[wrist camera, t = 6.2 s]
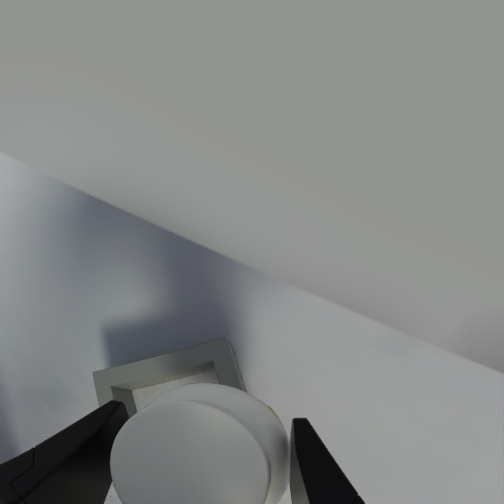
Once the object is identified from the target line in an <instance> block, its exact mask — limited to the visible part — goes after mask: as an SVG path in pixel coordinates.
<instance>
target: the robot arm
mask: <svg viewBox="0 0 504 504" xmlns="http://www.w3.org/2000/svg"><path fill="white" fill-rule="evenodd" d="M129 419H130V418H129V415H128V412H127V409H126V406H125V404H124V403H123V402H122V401H117V400H110V401H109V402H107V403H106V404H104V405H102V406H101V407H99V408H98V409H96V410H94V411H93V412H91V413H90V414H88V415H86V416H85V417H83V418H82V419H80V420H78V421H77V422H75V423H74V424H72V425H70V426H69V427H67V428H65V429H64V430H62V431H60V432H59V433H57V434H55V435H54V436H52V437H50V438H49V439H47V440H45V441H44V442H42V443H40V444H39V445H37V446H35V448H32V449H30V450H28V451H27V452H25V453H23V454H21V455H19V456H17V457H15V458H13V459H11V460H9V461H7V462H5V463H3V464H0V504H104V501H105V499H106V496H107V493H108V491H109V488H110V486H111V483H112V476H111V469H110V457H111V450H112V447H113V443H114V440H115V438H116V436H117V434H118V432H119V431H120V429H121V428H122V427H123V425H124V424H125V423H126V422H127V421H128V420H129ZM290 491H291V500H292V504H365V502H364V501H363V500H362V498H361V497H360V496H358V493H357V491H356V490H355V489H354V487H353V486H352V484H351V483H350V481H349V480H348V479H347V477H346V476H345V474H344V473H343V471H342V470H341V468H340V467H339V465H338V464H337V463H336V461H335V460H334V458H333V457H332V455H331V454H330V452H329V451H328V449H327V448H326V446H325V445H324V443H323V442H322V440H321V439H320V437H319V436H318V434H317V433H316V431H315V430H314V428H313V427H312V425H311V424H310V422H309V421H308V419H307V418H294V419H293V420H292V428H291V438H290Z"/></svg>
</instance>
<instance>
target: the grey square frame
mask: <svg viewBox="0 0 504 504" xmlns="http://www.w3.org/2000/svg"><path fill="white" fill-rule="evenodd" d="M213 369H216V373H217V376H218V379H219V382H220V384H221V385H226V386H230V387H234V388H237V389H240V390H242V391H244V392H246V393H247V391H246V388H245V385H244V382H243V379H242V376H241V373H240V370H239V366H238V363H237V360H236V357H235V354H234V351H233V348H232V346H231V344H230V343H229V341H228V339H227V338H226V337H223V338H220V339H217V340H213V341H210V342H207V343H203V344H200V345H196V346H193V347H189V348H186V349H182V350H179V351H175V352H171V353H168V354H164V355H160V356H156V357H153V358H149V359H145V360H141V361H137V362H133V363H129V364H125V365H121V366H117V367H112V368H108V369H104V370H100V371H95V372H93V378H94V383H95V388H96V393H97V398H98V402H99V407H101V406H102V405H104V404H106V403H107V402H109V401H110V400H117V401H122V402H123V403H124V404H125V406H126V409H127V412H128V415H129V418H131V417H132V416H133V415H135V414H136V413H137V411H136V407H135V404H134V399H133V395H132V391H131V390H134V389H139V388H143V387H147V386H152V385H156V384H160V383H164V382H168V381H172V380H176V379H180V378H184V377H188V376H191V375H195V374H199V373H202V372H206V371H210V370H213Z"/></svg>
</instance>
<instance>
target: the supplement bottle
mask: <svg viewBox="0 0 504 504" xmlns="http://www.w3.org/2000/svg"><path fill="white" fill-rule="evenodd" d="M110 469H111V476H112V481H113V484H114V487H115V490H116V492H117V494H118V496H119V498H120V500H121V501H122V503H123V504H277V503H278V502H279V501H280V499H281V497H282V496H283V494H284V492H285V490H286V488H287V485H288V483H289V479H290V441H289V438H288V435H287V433H286V431H285V429H284V427H283V425H282V423H281V421H280V419H279V418H278V416H277V415H276V413H275V412H274V411H273V410H272V409H271V408H270V407H269V406H268V405H266V404H265V403H264V402H262V401H261V400H259V399H257V398H255V397H254V396H252V395H250V394H248V393H246V392H244V391H242V390H240V389H237V388H234V387H230V386H226V385H221V384H213V383H196V384H189V385H184V386H180V387H177V388H174V389H172V390H169V391H167V392H166V393H164V394H162V395H160V396H159V397H157V398H156V399H155V400H154V401H152V402H151V403H150V404H149V405H148V406H147V407H146V408H144V409H142V410H141V411H139V412H138V413H136V414H135V415H133V416H132V417H131V418H130V419H129V420H128V421H127V422H126V423H125V424H124V425H123V427H122V428H121V429H120V431H119V432H118V434H117V436H116V438H115V440H114V443H113V447H112V450H111V457H110Z"/></svg>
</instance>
